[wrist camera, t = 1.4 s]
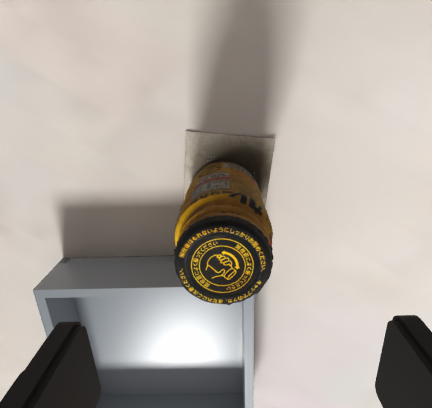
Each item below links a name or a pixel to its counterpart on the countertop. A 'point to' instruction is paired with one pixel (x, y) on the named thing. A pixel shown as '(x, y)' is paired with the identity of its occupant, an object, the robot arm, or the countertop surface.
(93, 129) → the countertop surface
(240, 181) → the condiment
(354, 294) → the countertop surface
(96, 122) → the countertop surface
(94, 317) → the open bin
